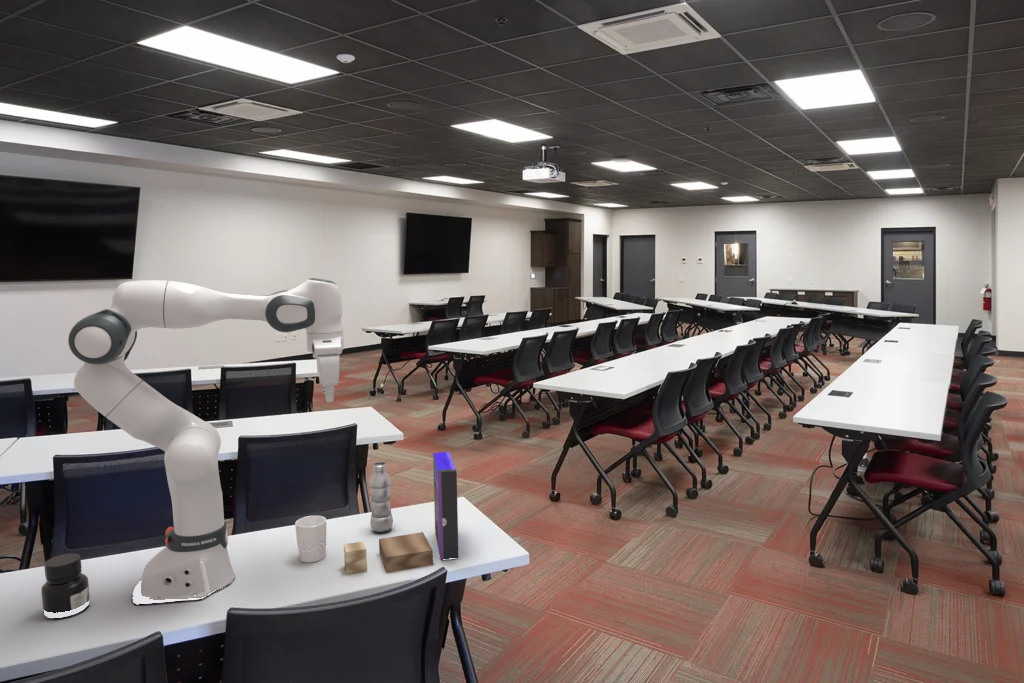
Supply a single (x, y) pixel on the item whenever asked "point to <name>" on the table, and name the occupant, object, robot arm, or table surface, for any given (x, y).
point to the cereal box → (445, 505)
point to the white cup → (311, 538)
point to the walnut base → (405, 552)
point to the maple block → (355, 557)
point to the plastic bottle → (380, 498)
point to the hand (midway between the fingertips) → (328, 397)
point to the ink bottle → (64, 584)
